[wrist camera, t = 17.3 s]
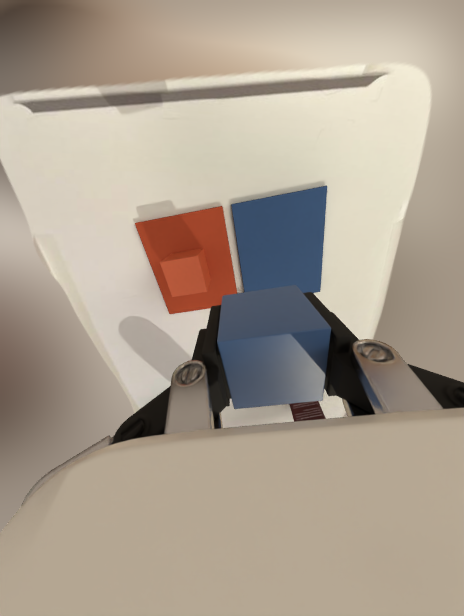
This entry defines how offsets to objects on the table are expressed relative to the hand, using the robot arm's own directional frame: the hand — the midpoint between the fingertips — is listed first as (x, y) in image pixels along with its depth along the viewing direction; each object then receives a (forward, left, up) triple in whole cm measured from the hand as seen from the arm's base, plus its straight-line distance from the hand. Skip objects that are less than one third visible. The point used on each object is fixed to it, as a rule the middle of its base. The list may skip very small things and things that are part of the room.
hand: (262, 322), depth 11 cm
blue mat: (0, +4, -14) cm, 15 cm away
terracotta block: (0, -7, -14) cm, 15 cm away
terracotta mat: (0, -7, -14) cm, 16 cm away
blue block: (0, 0, 0) cm, 0 cm away
